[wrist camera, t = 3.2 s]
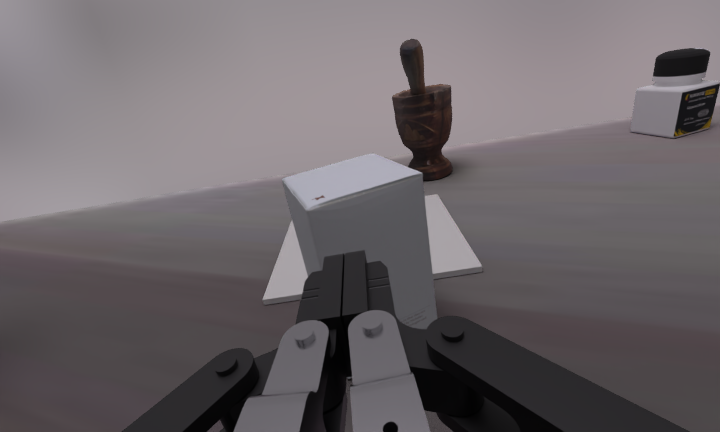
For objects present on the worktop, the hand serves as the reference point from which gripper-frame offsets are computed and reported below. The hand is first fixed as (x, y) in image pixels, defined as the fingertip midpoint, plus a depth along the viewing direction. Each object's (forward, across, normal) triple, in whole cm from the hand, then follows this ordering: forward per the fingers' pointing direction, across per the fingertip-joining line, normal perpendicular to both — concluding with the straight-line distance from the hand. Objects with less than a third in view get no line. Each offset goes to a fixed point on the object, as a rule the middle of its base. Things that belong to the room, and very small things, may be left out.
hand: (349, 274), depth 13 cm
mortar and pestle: (+42, -11, +12) cm, 45 cm away
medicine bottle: (+45, -50, +12) cm, 68 cm away
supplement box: (+10, 0, +12) cm, 16 cm away
